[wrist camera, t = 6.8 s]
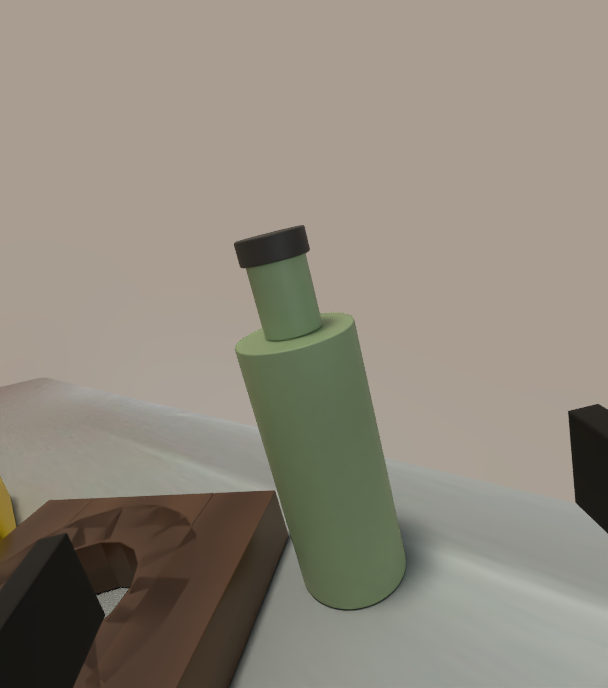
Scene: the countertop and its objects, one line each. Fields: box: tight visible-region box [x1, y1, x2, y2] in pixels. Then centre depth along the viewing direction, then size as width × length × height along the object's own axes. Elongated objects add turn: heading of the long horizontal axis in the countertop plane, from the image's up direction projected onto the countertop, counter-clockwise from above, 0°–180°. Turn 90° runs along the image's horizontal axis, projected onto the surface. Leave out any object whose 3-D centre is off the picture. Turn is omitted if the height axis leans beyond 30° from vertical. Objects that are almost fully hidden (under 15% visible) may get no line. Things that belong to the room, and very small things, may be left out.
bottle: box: [234, 225, 406, 609], centre depth 19 cm, size 5×5×16 cm
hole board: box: [0, 490, 288, 688], centre depth 20 cm, size 16×14×3 cm
